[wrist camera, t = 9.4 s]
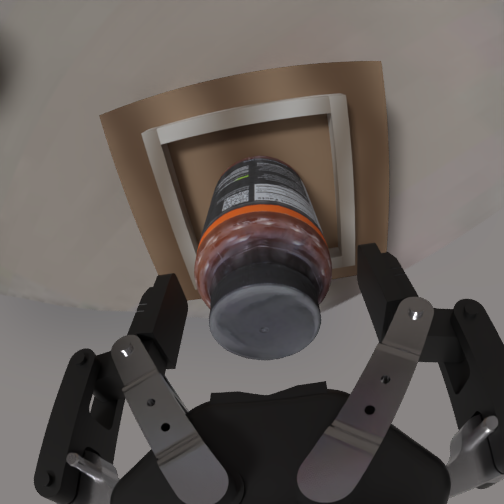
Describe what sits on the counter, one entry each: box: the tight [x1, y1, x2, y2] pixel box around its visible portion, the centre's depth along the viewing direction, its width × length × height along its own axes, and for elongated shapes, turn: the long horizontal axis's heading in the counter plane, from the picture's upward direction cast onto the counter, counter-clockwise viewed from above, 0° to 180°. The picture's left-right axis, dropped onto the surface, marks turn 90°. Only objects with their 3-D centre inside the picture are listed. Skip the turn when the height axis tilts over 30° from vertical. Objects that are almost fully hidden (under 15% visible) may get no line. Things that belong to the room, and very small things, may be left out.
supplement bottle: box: [194, 156, 332, 360], centre depth 15 cm, size 6×6×11 cm
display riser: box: [99, 61, 389, 300], centre depth 22 cm, size 18×16×7 cm
